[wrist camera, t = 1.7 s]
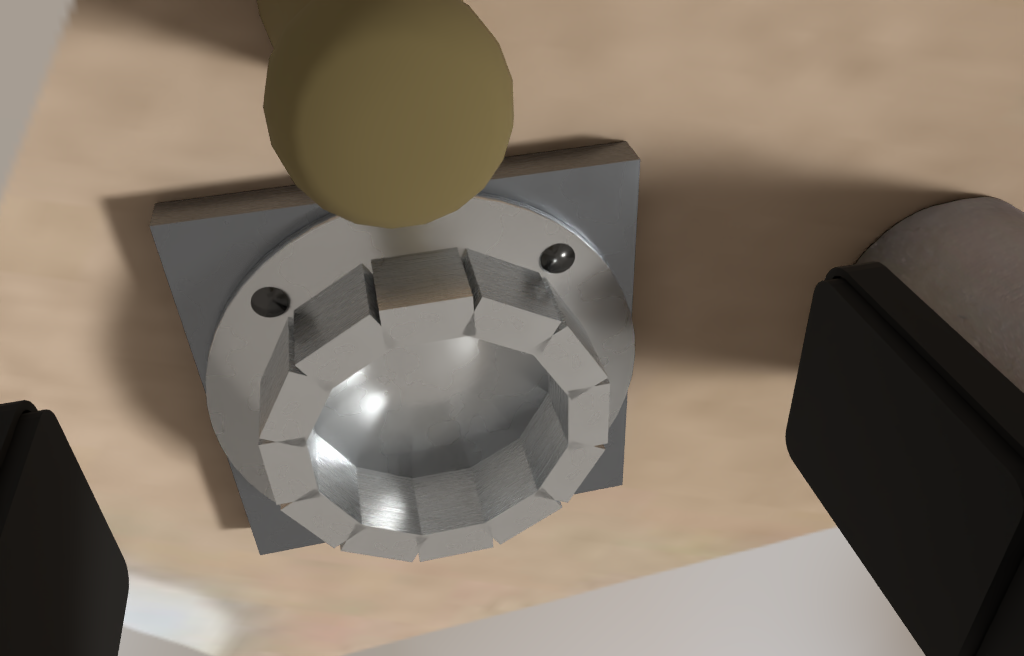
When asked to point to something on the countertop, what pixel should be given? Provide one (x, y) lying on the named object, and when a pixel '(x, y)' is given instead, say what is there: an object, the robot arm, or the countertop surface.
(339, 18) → the olive knobbed peg
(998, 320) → the pillar candle
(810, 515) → the countertop surface
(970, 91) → the countertop surface
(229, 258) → the rosette plate
